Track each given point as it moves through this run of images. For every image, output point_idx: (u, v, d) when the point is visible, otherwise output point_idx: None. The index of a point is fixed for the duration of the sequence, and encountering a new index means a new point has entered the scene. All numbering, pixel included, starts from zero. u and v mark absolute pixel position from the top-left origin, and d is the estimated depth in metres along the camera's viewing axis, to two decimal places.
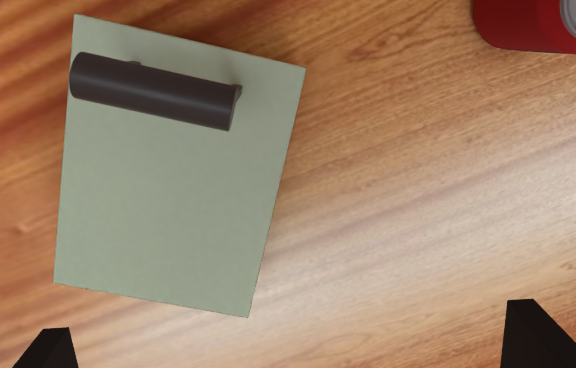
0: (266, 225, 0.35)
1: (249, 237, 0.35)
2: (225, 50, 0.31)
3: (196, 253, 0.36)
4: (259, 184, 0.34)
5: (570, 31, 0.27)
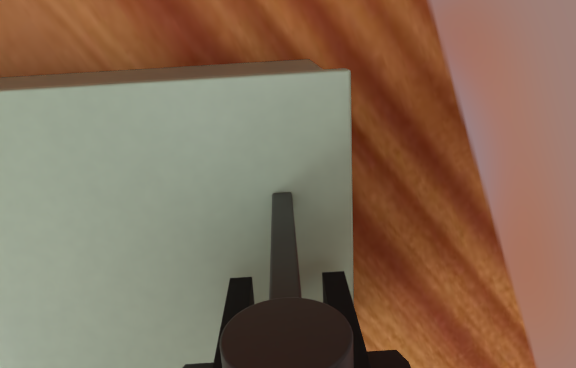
0: None
1: None
2: None
3: None
4: None
5: None
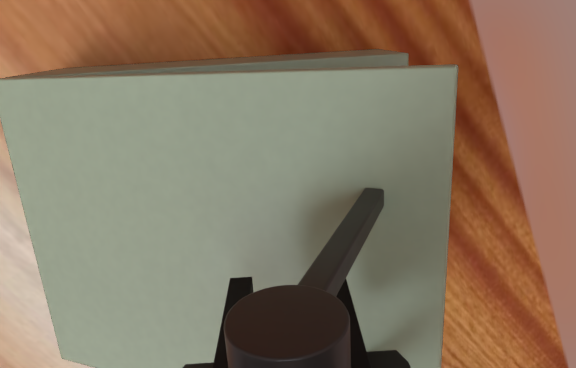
0: None
1: (160, 367, 0.23)
2: (438, 347, 0.17)
3: (113, 295, 0.23)
4: None
5: None
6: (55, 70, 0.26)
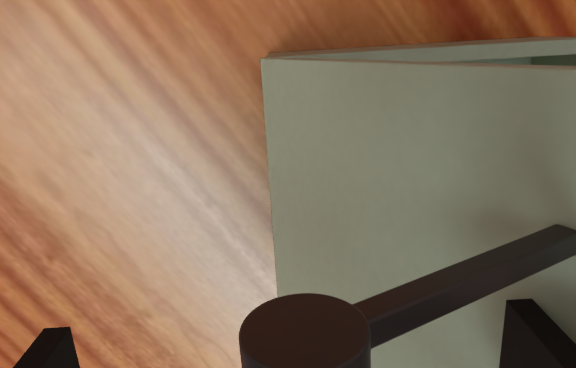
0: None
1: None
2: None
3: (313, 260, 0.25)
4: None
5: None
6: (276, 53, 0.31)
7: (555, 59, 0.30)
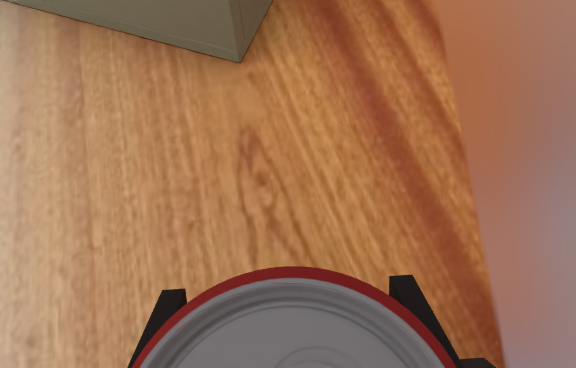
0: None
1: None
2: None
3: None
4: None
5: (186, 321, 0.08)
6: None
7: None
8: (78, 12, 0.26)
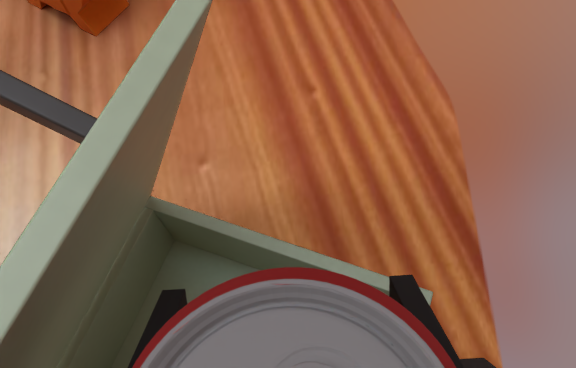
0: None
1: None
2: None
3: None
4: None
5: (186, 323, 0.08)
6: None
7: None
8: None
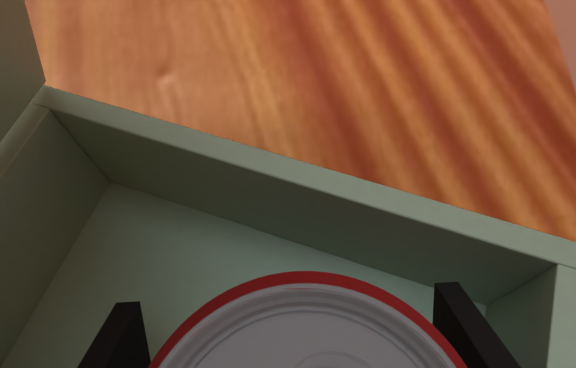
0: None
1: None
2: None
3: None
4: None
5: (199, 327, 0.08)
6: None
7: (513, 301, 0.16)
8: None
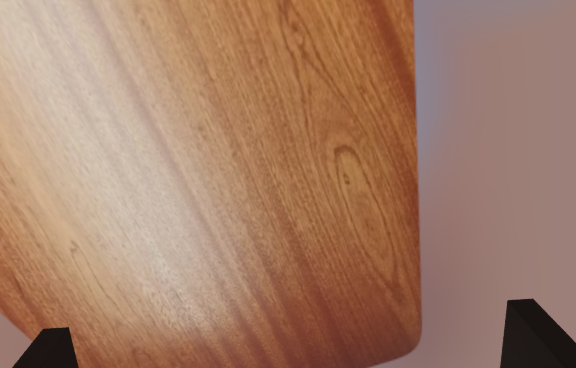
0: None
1: None
2: None
3: None
4: None
5: None
6: None
7: None
8: None
